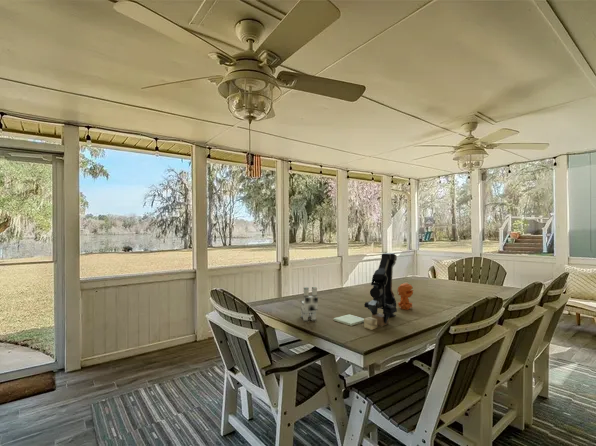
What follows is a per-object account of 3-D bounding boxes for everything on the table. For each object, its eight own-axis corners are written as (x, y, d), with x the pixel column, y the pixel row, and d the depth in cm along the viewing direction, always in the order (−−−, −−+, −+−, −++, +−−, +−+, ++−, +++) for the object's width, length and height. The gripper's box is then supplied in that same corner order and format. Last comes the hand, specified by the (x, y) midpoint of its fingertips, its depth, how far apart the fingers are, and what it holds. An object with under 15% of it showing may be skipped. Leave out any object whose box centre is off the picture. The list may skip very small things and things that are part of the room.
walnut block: (379, 321, 185) (378, 312, 185) (388, 324, 180) (388, 315, 180) (372, 323, 181) (372, 314, 181) (381, 326, 176) (381, 317, 176)
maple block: (369, 325, 177) (369, 317, 177) (377, 328, 173) (377, 319, 173) (364, 327, 173) (364, 318, 174) (371, 329, 170) (371, 320, 170)
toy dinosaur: (416, 310, 209) (416, 283, 209) (400, 310, 209) (399, 283, 209) (410, 306, 220) (410, 280, 220) (395, 306, 220) (395, 280, 220)
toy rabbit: (311, 315, 199) (311, 283, 199) (318, 323, 181) (317, 288, 182) (300, 315, 197) (300, 283, 198) (305, 323, 180) (305, 289, 181)
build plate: (349, 316, 196) (349, 314, 196) (366, 321, 185) (366, 319, 185) (333, 320, 187) (333, 318, 187) (351, 325, 176) (351, 323, 176)
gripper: (358, 294, 183) (358, 320, 182) (385, 299, 168) (385, 328, 168) (370, 291, 190) (370, 317, 189) (397, 296, 175) (397, 324, 175)
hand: (380, 322), depth 180 cm, fingers closed on walnut block, 6 cm apart
